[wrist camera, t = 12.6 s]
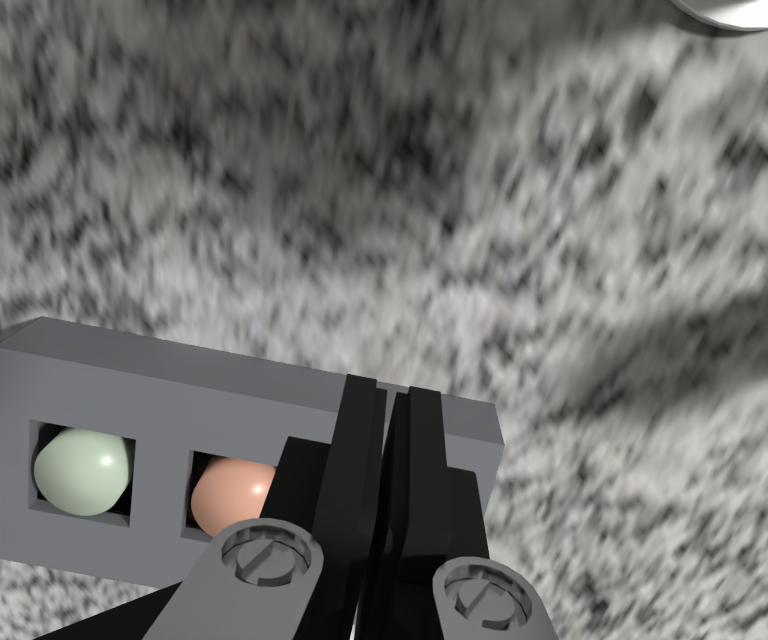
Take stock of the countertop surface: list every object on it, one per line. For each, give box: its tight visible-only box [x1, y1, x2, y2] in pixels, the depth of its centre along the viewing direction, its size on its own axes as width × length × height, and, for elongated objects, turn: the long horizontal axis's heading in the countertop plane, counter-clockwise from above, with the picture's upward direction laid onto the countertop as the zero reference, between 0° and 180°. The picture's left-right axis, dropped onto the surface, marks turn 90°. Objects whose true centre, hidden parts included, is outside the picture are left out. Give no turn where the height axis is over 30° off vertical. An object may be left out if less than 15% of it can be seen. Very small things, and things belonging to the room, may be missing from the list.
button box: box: [0, 316, 505, 625], centre depth 41 cm, size 28×14×5 cm, turn 79°
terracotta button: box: [191, 454, 277, 538], centre depth 40 cm, size 5×5×4 cm
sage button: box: [34, 426, 136, 516], centre depth 40 cm, size 5×5×4 cm
